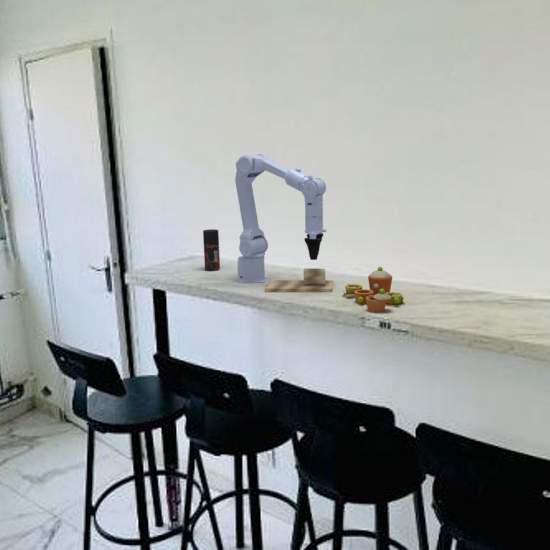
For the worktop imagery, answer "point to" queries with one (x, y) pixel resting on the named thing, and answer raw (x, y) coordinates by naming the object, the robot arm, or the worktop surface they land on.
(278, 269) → the worktop surface
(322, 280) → the block
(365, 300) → the toy tea set
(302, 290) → the board
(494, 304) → the worktop surface
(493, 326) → the worktop surface
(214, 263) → the deodorant
